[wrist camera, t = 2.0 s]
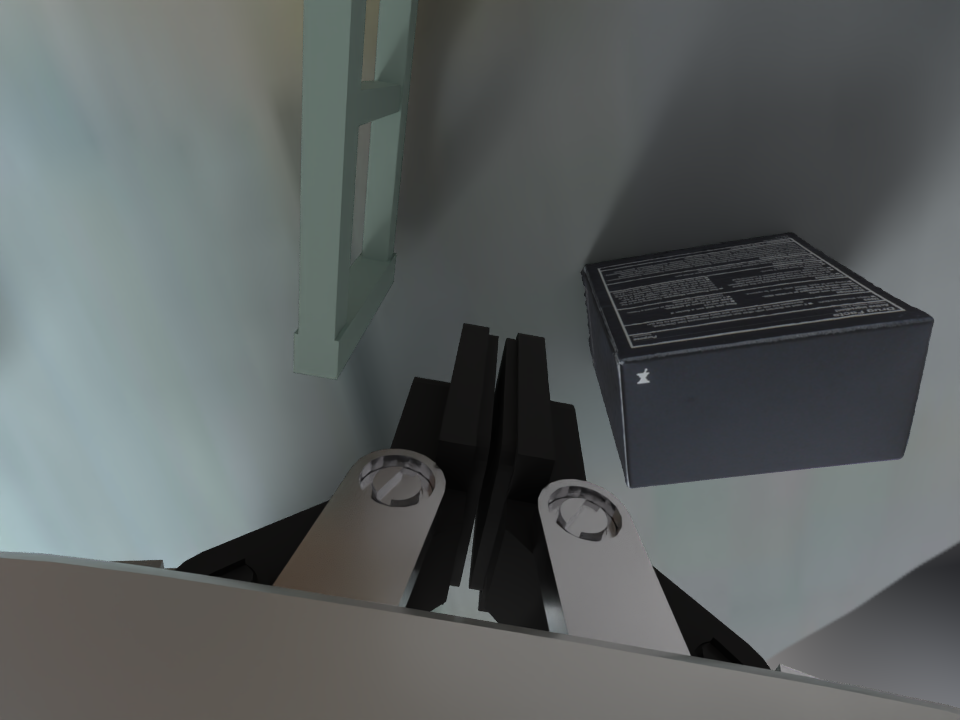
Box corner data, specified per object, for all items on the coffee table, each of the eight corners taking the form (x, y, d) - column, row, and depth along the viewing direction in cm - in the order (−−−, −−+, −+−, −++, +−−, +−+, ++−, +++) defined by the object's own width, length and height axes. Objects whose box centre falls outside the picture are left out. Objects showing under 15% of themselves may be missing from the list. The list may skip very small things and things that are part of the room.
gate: (395, -200, 20) (280, -459, 10) (450, -189, 20) (387, -435, 10) (361, 272, 28) (280, 378, 19) (400, 279, 28) (339, 388, 19)
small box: (591, 372, 31) (622, 499, 22) (579, 262, 28) (610, 355, 19) (788, 345, 30) (910, 469, 21) (796, 227, 27) (943, 310, 18)
